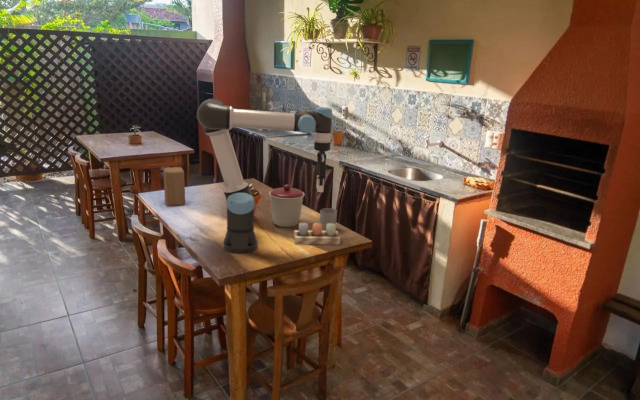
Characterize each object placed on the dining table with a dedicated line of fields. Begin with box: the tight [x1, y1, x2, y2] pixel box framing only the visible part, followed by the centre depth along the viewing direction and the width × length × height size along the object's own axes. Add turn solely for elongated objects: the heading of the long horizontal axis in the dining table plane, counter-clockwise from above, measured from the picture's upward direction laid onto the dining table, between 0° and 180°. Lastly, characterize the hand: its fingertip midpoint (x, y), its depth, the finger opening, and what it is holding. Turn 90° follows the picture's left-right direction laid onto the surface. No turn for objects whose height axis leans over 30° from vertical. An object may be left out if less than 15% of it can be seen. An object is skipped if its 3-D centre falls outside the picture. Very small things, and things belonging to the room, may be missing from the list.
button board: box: [293, 229, 341, 245], centre depth 213 cm, size 21×10×3 cm, turn 96°
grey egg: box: [298, 222, 309, 236], centre depth 211 cm, size 4×4×5 cm
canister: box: [268, 184, 305, 228], centre depth 230 cm, size 18×18×21 cm
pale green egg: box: [326, 223, 337, 236], centre depth 213 cm, size 4×4×5 cm
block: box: [163, 166, 186, 207], centre depth 253 cm, size 10×10×20 cm
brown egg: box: [311, 222, 322, 236], centre depth 212 cm, size 4×4×5 cm
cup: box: [319, 207, 338, 231], centre depth 227 cm, size 8×8×10 cm
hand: (319, 190), depth 214 cm, fingers open, 5 cm apart
